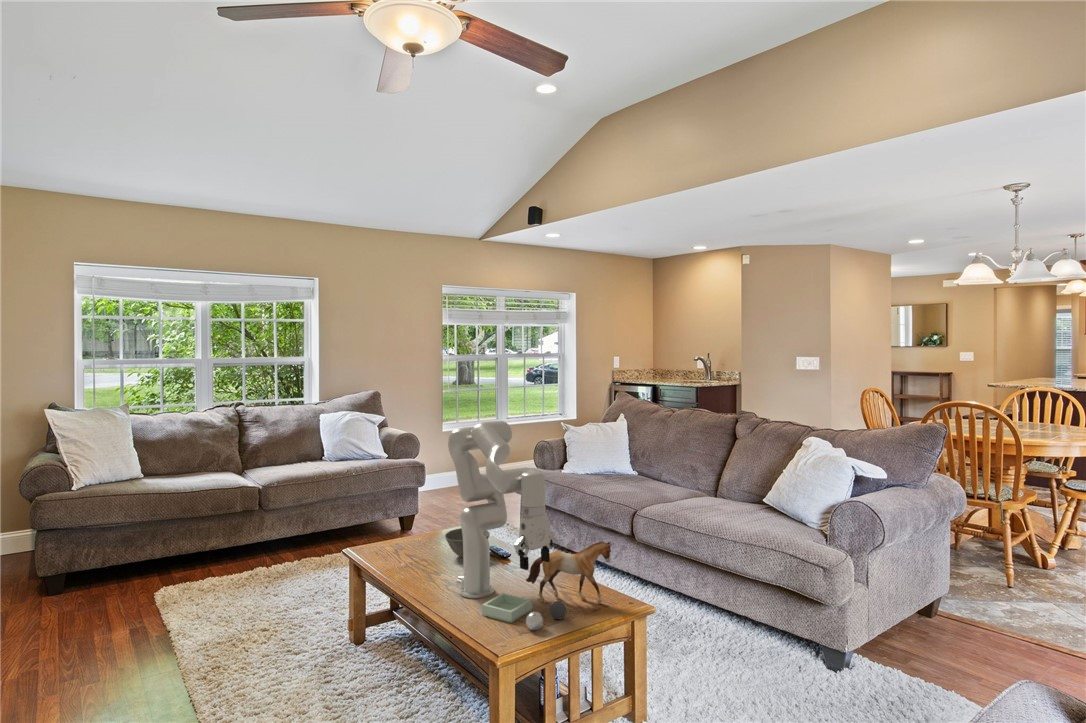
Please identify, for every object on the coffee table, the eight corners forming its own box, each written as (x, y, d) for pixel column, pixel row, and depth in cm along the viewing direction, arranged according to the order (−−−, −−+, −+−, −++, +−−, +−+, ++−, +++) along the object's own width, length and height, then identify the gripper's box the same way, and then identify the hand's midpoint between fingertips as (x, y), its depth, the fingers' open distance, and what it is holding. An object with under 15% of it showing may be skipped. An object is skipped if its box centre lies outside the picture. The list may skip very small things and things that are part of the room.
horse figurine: (613, 598, 228) (612, 540, 228) (612, 607, 221) (611, 547, 220) (526, 594, 233) (525, 537, 233) (522, 602, 226) (521, 543, 225)
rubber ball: (546, 619, 211) (546, 602, 211) (555, 613, 216) (555, 597, 216) (561, 623, 208) (560, 606, 208) (569, 617, 213) (569, 600, 213)
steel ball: (522, 630, 203) (522, 613, 203) (532, 624, 208) (532, 607, 208) (537, 634, 200) (537, 617, 200) (546, 628, 205) (546, 611, 205)
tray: (481, 615, 215) (481, 604, 215) (503, 602, 225) (503, 592, 225) (511, 623, 209) (511, 612, 209) (531, 610, 219) (531, 599, 219)
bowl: (440, 554, 279) (439, 531, 279) (481, 547, 287) (481, 525, 287) (452, 567, 262) (452, 542, 262) (496, 560, 270) (496, 536, 270)
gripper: (523, 518, 195) (524, 574, 195) (560, 507, 208) (561, 560, 208) (505, 514, 200) (507, 569, 200) (543, 504, 213) (544, 556, 213)
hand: (535, 565), depth 204 cm, fingers open, 9 cm apart
